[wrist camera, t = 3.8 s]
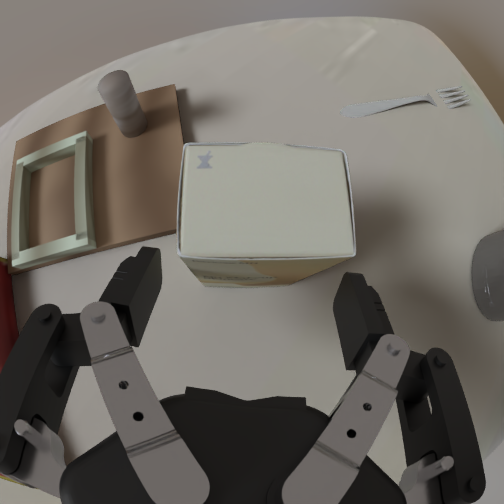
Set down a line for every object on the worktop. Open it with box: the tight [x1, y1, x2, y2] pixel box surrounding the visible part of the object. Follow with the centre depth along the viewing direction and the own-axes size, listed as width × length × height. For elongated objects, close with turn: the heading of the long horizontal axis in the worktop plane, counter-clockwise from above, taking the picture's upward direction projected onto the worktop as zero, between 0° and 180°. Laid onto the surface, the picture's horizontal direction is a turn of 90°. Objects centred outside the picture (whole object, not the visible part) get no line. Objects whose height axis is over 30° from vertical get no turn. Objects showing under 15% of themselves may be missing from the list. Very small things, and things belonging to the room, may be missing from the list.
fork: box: [340, 86, 471, 118], centre depth 26 cm, size 3×24×2 cm, turn 112°
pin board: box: [7, 70, 184, 275], centre depth 19 cm, size 18×14×7 cm
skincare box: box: [177, 142, 356, 288], centre depth 16 cm, size 6×4×12 cm
